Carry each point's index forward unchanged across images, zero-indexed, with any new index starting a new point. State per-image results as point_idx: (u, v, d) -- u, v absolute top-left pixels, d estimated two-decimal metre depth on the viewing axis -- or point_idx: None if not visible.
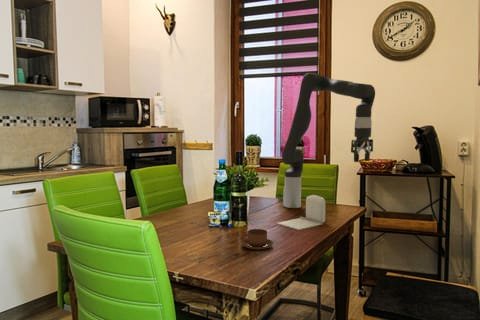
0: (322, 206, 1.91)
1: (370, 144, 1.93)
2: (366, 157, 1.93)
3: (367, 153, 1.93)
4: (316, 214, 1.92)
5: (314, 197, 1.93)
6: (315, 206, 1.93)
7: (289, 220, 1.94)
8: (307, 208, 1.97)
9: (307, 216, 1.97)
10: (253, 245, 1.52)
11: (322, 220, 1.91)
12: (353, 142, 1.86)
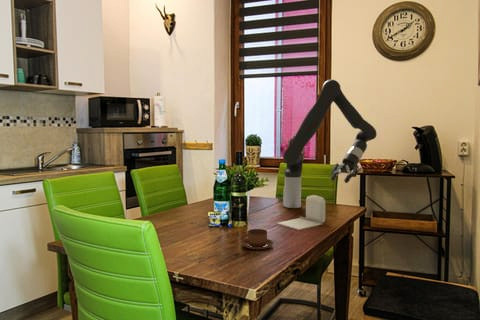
0: (322, 206, 1.91)
1: (337, 169, 2.12)
2: (334, 177, 2.09)
3: (335, 175, 2.09)
4: (316, 214, 1.92)
5: (314, 197, 1.93)
6: (315, 206, 1.93)
7: (289, 220, 1.94)
8: (307, 208, 1.97)
9: (307, 216, 1.97)
10: (253, 245, 1.52)
11: (322, 220, 1.91)
12: (358, 168, 2.03)
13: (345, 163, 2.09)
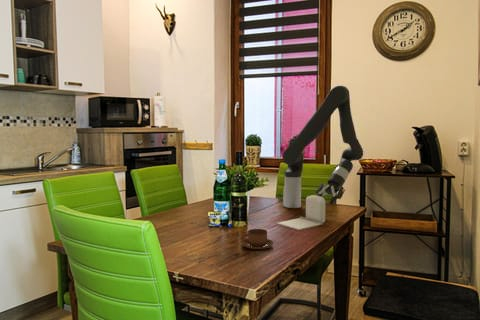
0: (322, 206, 1.91)
1: (322, 189, 2.06)
2: None
3: (320, 196, 2.03)
4: (316, 214, 1.92)
5: (314, 197, 1.93)
6: (315, 206, 1.93)
7: (289, 220, 1.94)
8: (307, 208, 1.97)
9: (307, 216, 1.97)
10: (253, 245, 1.52)
11: (322, 220, 1.91)
12: (343, 190, 1.96)
13: (330, 184, 2.03)
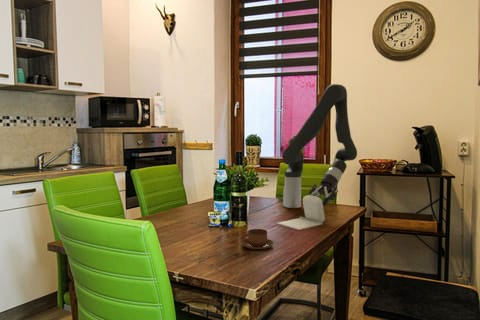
0: (319, 206, 1.90)
1: (315, 190, 2.03)
2: None
3: None
4: (315, 214, 1.92)
5: (310, 198, 1.92)
6: (312, 207, 1.91)
7: (289, 220, 1.94)
8: (305, 209, 1.96)
9: (306, 216, 1.97)
10: (253, 245, 1.52)
11: (322, 219, 1.91)
12: (336, 190, 1.93)
13: (323, 184, 1.99)
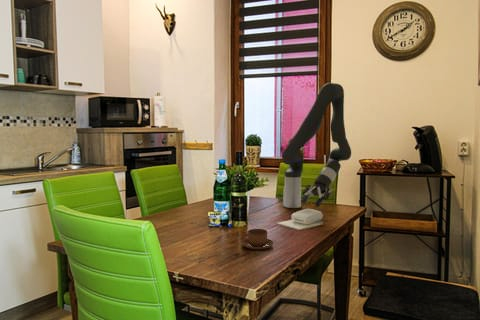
0: (311, 221, 1.86)
1: None
2: (305, 200, 1.96)
3: (307, 197, 1.97)
4: None
5: (299, 222, 1.88)
6: None
7: (289, 220, 1.94)
8: None
9: None
10: (253, 245, 1.52)
11: (321, 217, 1.91)
12: (329, 191, 1.90)
13: (317, 185, 1.96)
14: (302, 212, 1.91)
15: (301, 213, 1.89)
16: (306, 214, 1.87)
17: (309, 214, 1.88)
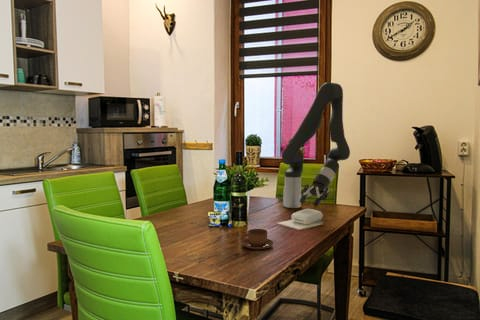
0: (311, 221, 1.86)
1: None
2: (303, 199, 1.95)
3: (305, 197, 1.96)
4: None
5: (299, 222, 1.88)
6: None
7: (289, 220, 1.94)
8: None
9: None
10: (253, 245, 1.52)
11: (321, 217, 1.91)
12: (328, 191, 1.90)
13: (315, 185, 1.96)
14: (302, 212, 1.91)
15: (301, 213, 1.89)
16: (306, 214, 1.87)
17: (309, 214, 1.88)
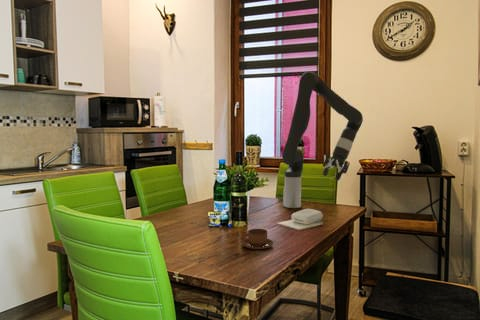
0: (311, 221, 1.86)
1: (329, 161, 2.09)
2: (326, 172, 2.07)
3: (327, 169, 2.08)
4: None
5: (299, 222, 1.88)
6: None
7: (289, 220, 1.94)
8: None
9: None
10: (253, 245, 1.52)
11: (321, 217, 1.91)
12: (347, 164, 1.99)
13: (335, 157, 2.04)
14: (302, 212, 1.91)
15: (301, 213, 1.89)
16: (306, 214, 1.87)
17: (309, 214, 1.88)
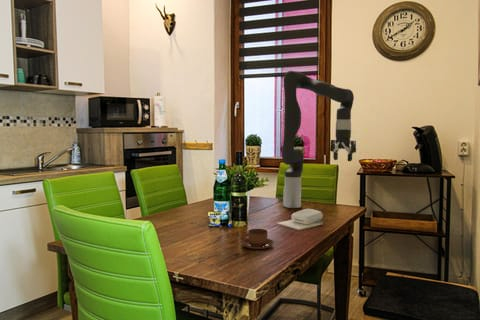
0: (311, 221, 1.86)
1: (334, 144, 2.10)
2: (336, 156, 2.08)
3: (336, 153, 2.09)
4: None
5: (299, 222, 1.88)
6: None
7: (289, 220, 1.94)
8: None
9: None
10: (253, 245, 1.52)
11: (321, 217, 1.91)
12: (354, 143, 1.99)
13: (339, 139, 2.05)
14: (302, 212, 1.91)
15: (301, 213, 1.89)
16: (306, 214, 1.87)
17: (309, 214, 1.88)
